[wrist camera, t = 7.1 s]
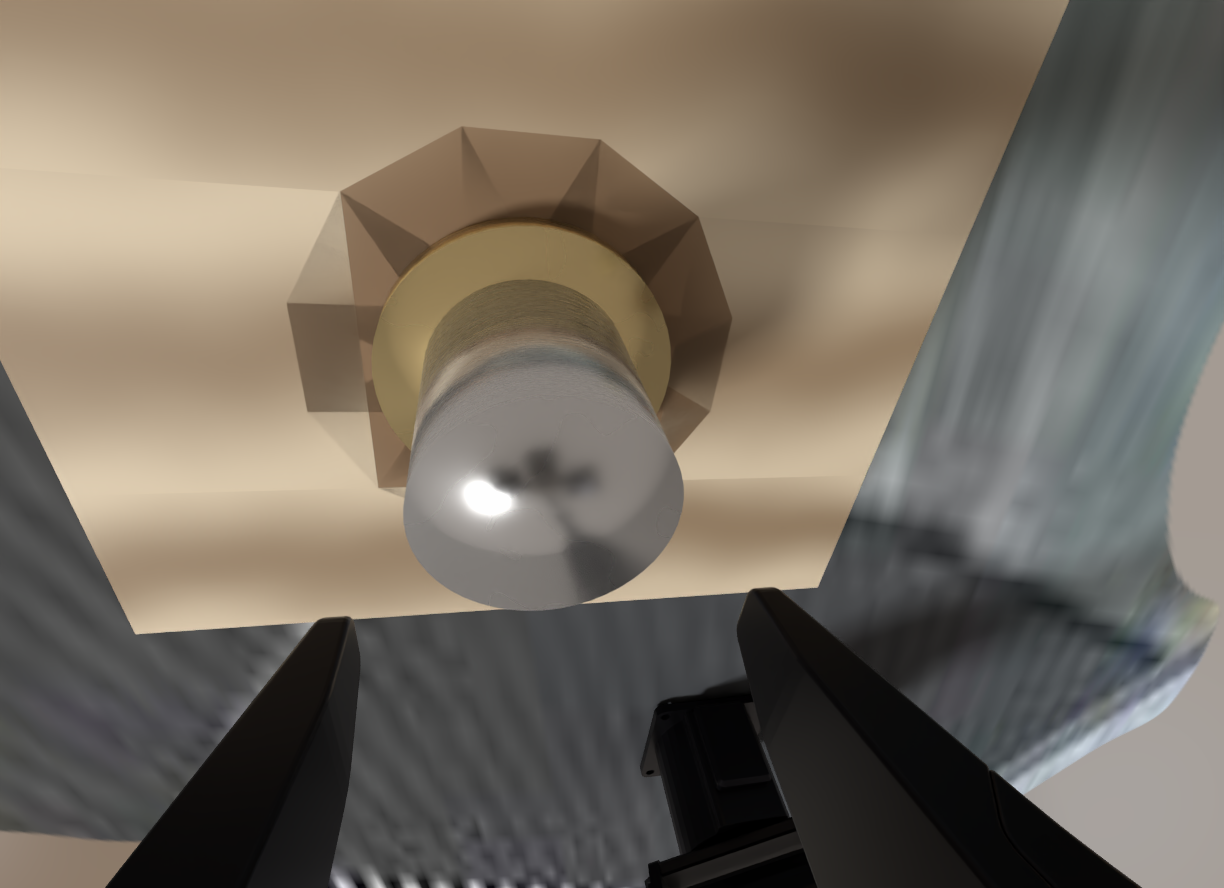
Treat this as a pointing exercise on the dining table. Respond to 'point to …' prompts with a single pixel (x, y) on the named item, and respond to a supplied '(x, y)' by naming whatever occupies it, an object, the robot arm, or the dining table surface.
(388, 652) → the dining table surface
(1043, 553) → the dining table surface
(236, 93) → the jig
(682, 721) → the robot arm
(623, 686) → the dining table surface
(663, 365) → the silver and gold knob
